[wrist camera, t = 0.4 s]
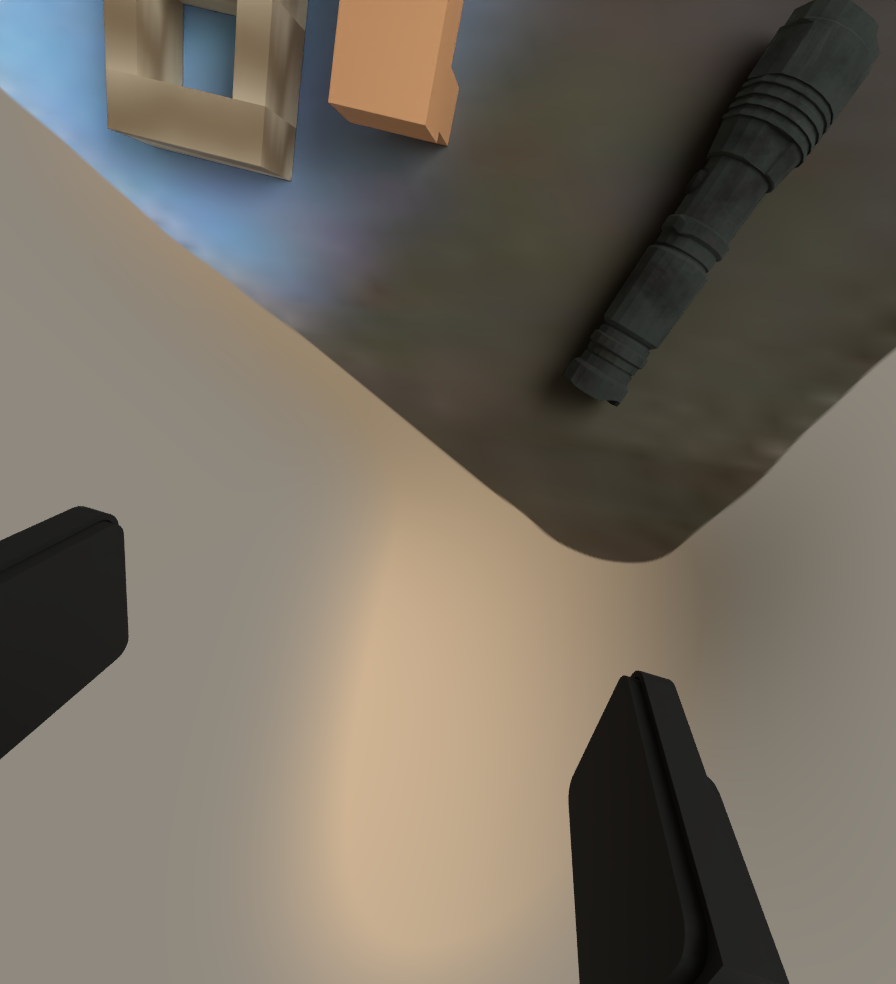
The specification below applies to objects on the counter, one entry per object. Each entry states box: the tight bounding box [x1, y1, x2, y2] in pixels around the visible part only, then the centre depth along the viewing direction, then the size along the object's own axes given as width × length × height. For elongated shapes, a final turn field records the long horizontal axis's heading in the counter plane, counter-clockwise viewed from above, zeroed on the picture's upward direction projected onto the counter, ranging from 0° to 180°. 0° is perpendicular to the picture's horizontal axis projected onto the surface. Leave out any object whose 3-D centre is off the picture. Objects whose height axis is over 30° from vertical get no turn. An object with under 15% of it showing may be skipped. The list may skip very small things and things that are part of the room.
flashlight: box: [563, 0, 880, 407], centre depth 29 cm, size 5×21×5 cm, turn 151°
